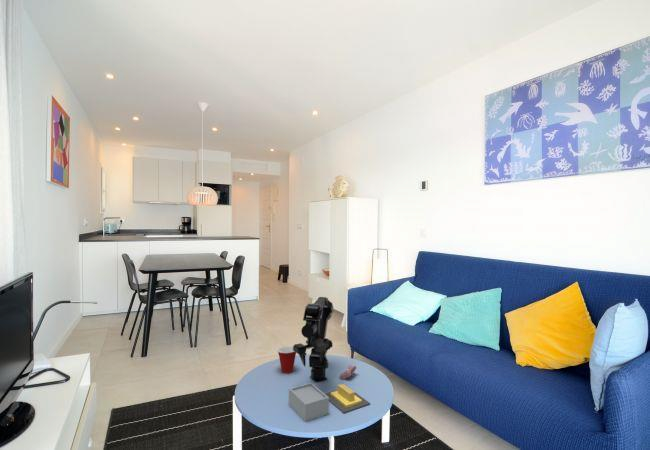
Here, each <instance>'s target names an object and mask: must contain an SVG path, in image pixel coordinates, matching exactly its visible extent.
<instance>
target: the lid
mask: <svg viewBox="0 0 650 450" xmlns="http://www.w3.org/2000/svg"><path fill="white" fill-rule="evenodd" d="M337 390H338V391H335V390H334V391H335V392H332V391H330V392H331V393H330V395H331V396H332V397H334V398H335V399H336V400H337V401H339V402H340V403H341V404H342V405H343V406H345V407H346V408H347V407H350V406H353V405H356V404H359V403H362V400H361V399H360V398H358V397H357V396H356V395H355V393H356V392H355V391H354V390H353V391H352V389H351V388H350V387H348V386H347V385H345V384H344V383H341V384H338V385H337Z"/></svg>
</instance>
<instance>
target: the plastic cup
mask: <svg viewBox="0 0 650 450" xmlns="http://www.w3.org/2000/svg"><path fill="white" fill-rule="evenodd" d="M276 350H277V353H278V357H279V362H280V368H281V372H282V374H291V373H293V370H294V366H295V361H296V355H297V353H296V352H295V351H293V346H292V345H291V346H289V345H287V346H281V347H279V348H277V349H276Z"/></svg>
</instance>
